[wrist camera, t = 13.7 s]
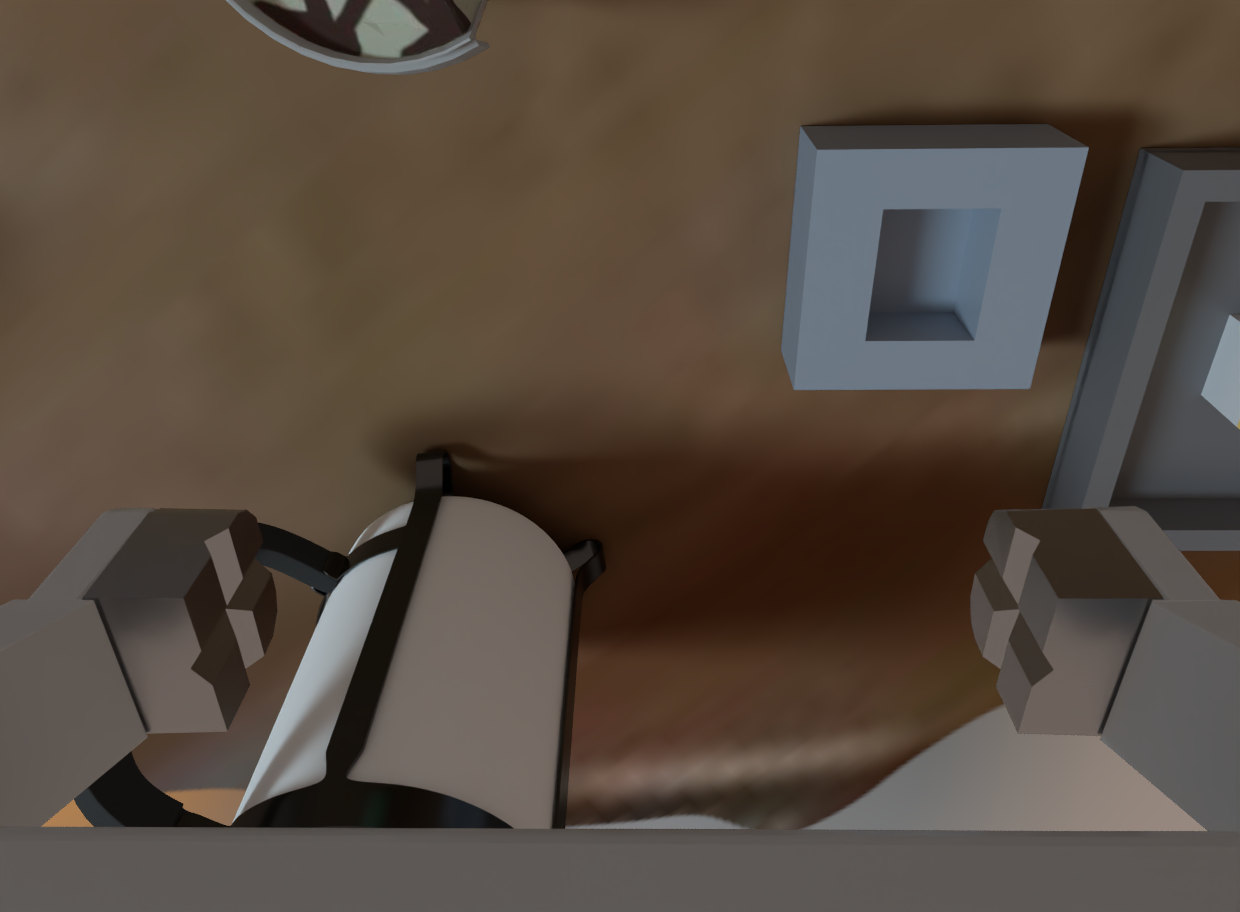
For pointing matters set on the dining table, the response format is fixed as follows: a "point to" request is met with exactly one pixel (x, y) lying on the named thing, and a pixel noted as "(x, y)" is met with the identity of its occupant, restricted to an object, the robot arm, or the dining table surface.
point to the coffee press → (413, 679)
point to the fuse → (1226, 373)
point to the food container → (373, 31)
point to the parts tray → (1162, 357)
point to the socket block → (925, 254)
